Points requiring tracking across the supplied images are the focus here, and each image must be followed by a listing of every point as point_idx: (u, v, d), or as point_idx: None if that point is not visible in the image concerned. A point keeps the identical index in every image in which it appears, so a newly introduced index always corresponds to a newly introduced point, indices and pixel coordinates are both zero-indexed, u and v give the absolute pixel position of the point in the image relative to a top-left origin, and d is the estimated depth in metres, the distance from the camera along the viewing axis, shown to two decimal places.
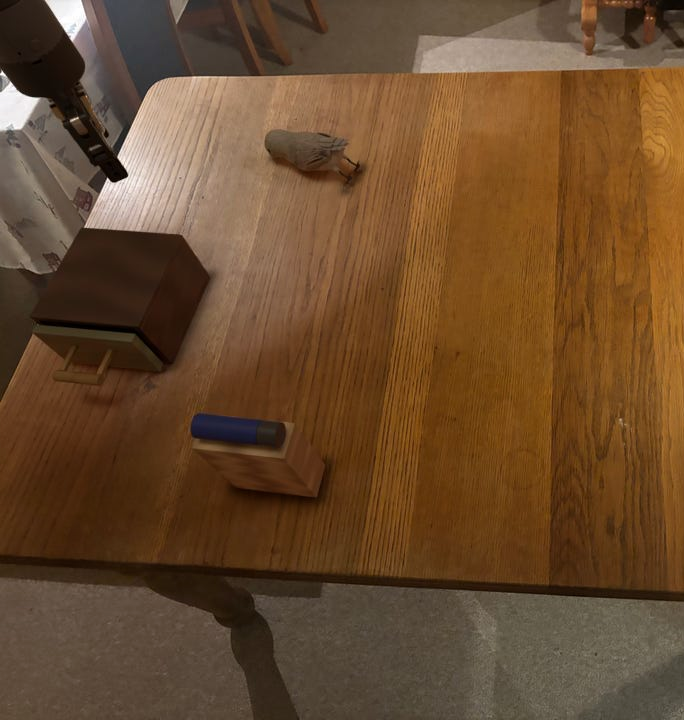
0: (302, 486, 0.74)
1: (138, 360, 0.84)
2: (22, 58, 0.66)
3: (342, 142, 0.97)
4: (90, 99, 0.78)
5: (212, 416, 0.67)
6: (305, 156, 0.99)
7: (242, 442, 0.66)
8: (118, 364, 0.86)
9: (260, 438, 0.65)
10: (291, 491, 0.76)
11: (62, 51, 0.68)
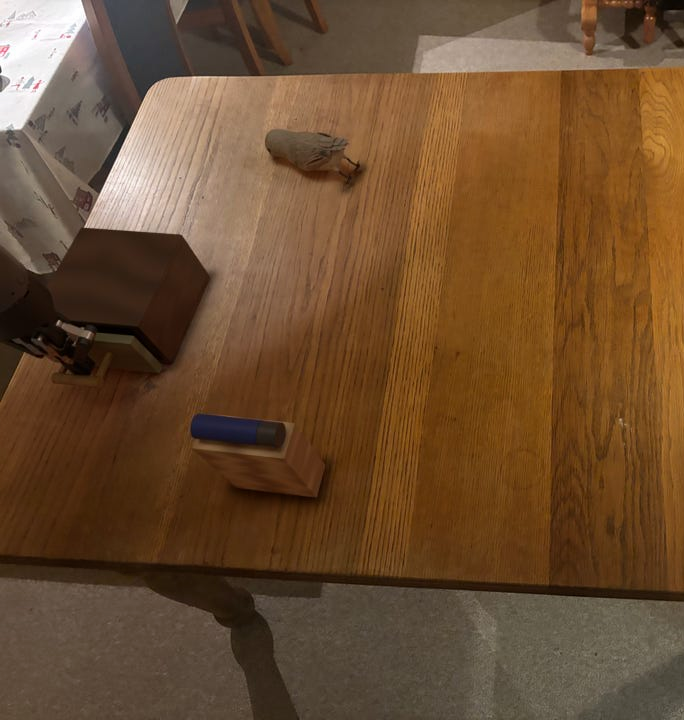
0: (302, 486, 0.74)
1: (137, 362, 0.84)
2: (16, 297, 0.66)
3: (342, 142, 0.97)
4: None
5: (212, 417, 0.67)
6: (305, 156, 0.99)
7: (242, 443, 0.66)
8: (117, 366, 0.86)
9: (260, 439, 0.65)
10: (291, 491, 0.76)
11: (32, 275, 0.69)
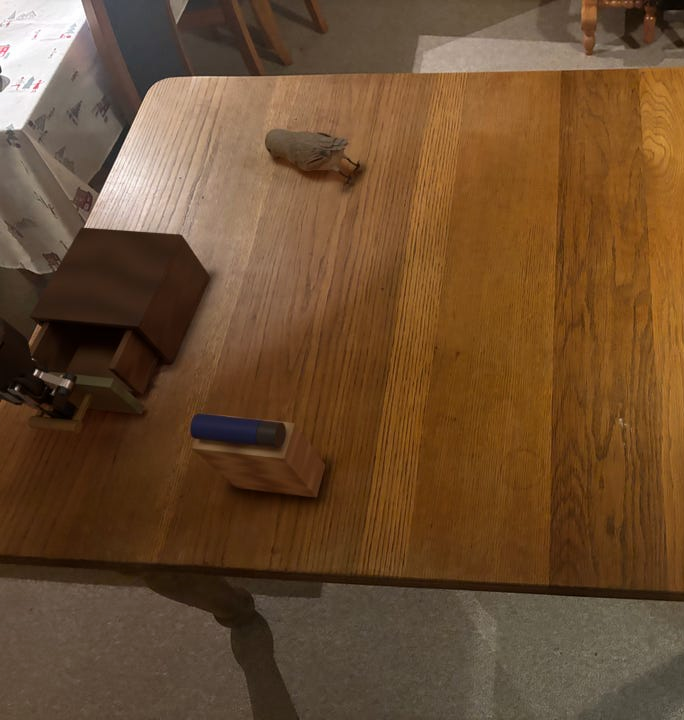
0: (302, 486, 0.74)
1: (117, 404, 0.81)
2: None
3: (342, 142, 0.97)
4: None
5: (212, 417, 0.67)
6: (305, 156, 0.99)
7: (242, 443, 0.66)
8: (98, 407, 0.83)
9: (260, 439, 0.65)
10: (291, 491, 0.76)
11: (8, 325, 0.67)
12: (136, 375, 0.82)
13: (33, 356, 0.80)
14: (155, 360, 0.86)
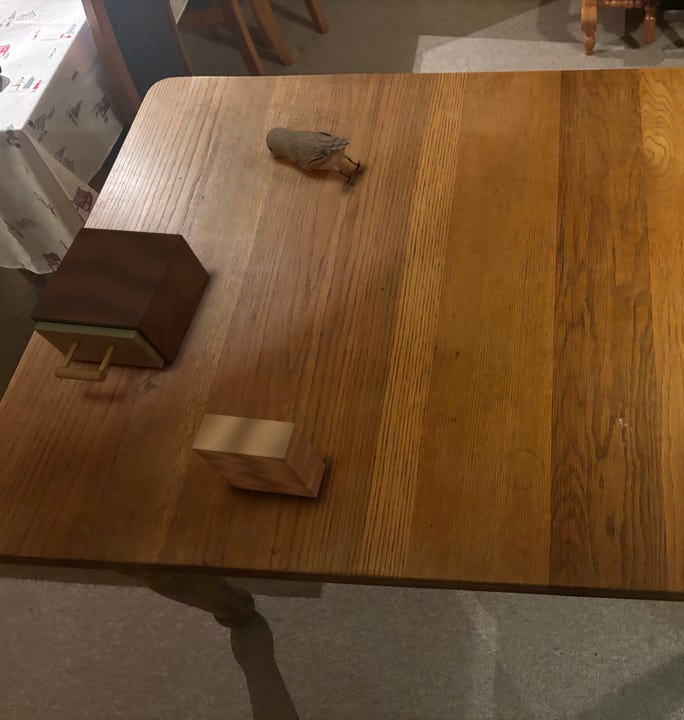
0: (302, 486, 0.74)
1: (139, 357, 0.84)
2: None
3: (343, 142, 0.97)
4: None
5: None
6: (306, 155, 0.99)
7: None
8: (120, 361, 0.86)
9: None
10: (291, 491, 0.76)
11: None
12: None
13: None
14: None
